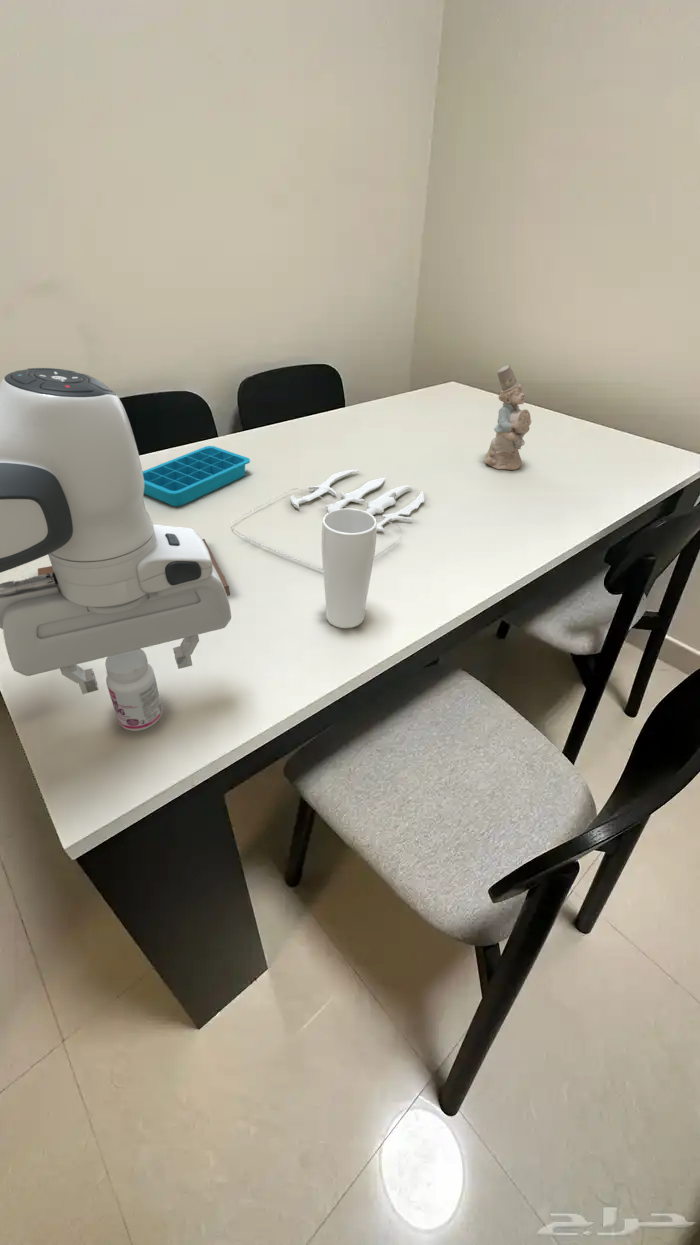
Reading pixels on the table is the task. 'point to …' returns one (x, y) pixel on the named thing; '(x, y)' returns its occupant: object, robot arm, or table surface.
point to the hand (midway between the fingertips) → (138, 675)
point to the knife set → (355, 496)
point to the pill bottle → (133, 690)
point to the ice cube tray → (193, 475)
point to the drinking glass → (347, 564)
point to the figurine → (509, 424)
